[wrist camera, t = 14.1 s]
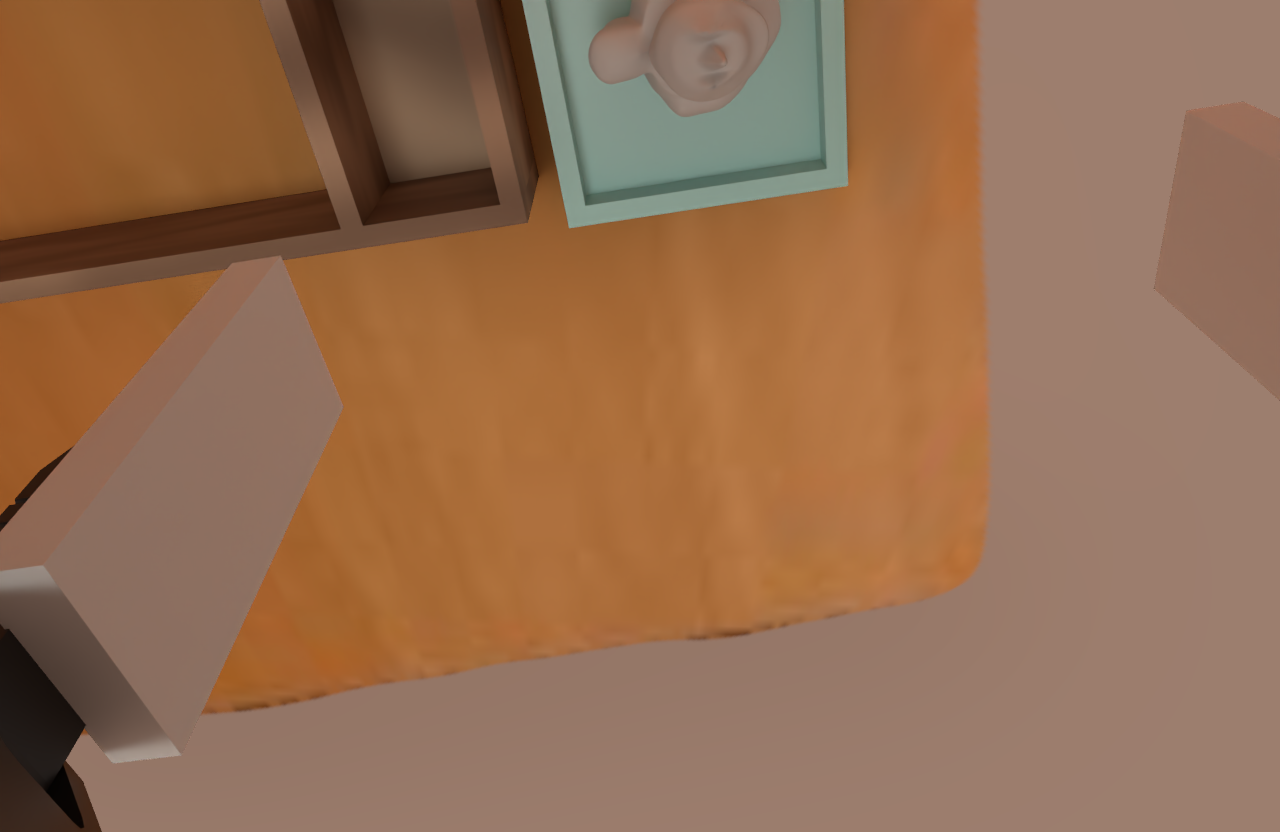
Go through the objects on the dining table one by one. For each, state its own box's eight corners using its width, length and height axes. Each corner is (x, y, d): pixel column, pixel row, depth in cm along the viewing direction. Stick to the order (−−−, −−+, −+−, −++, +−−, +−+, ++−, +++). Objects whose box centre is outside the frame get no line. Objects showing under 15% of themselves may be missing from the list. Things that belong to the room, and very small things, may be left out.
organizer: (-364, -83, 30) (-521, -68, 26) (447, -238, 28) (417, -248, 24) (-118, 279, 38) (-209, 335, 34) (538, 176, 36) (527, 222, 32)
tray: (495, -159, 30) (489, -158, 28) (827, -220, 29) (838, -222, 27) (571, 212, 37) (569, 228, 35) (839, 171, 36) (848, 185, 35)
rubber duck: (780, 75, 33) (819, 138, 27) (609, 116, 34) (606, 187, 28) (759, -86, 30) (797, -61, 24) (572, -39, 31) (558, 0, 25)
